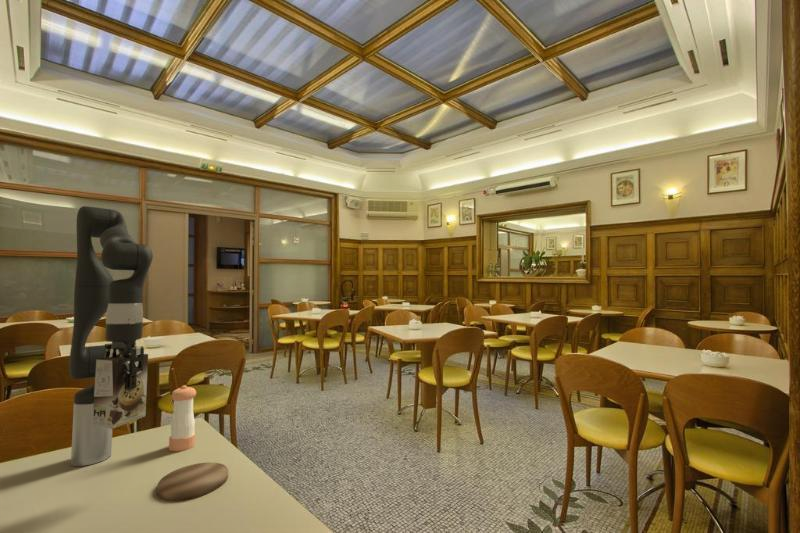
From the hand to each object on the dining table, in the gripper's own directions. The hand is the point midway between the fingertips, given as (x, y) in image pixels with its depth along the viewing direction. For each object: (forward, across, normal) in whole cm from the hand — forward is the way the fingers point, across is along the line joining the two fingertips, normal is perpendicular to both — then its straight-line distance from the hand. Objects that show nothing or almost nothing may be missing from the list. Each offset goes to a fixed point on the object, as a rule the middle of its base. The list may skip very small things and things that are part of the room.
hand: (121, 386), depth 92 cm
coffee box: (+9, 0, 0) cm, 9 cm away
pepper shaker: (+26, -13, +24) cm, 38 cm away
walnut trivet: (+26, +12, +12) cm, 31 cm away
